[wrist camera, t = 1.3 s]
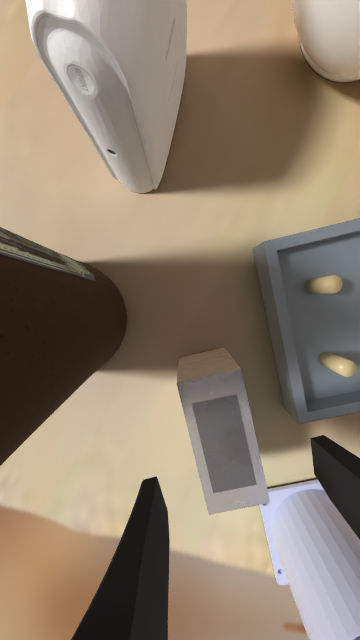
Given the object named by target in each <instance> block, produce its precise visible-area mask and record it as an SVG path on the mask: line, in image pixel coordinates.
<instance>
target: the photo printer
mask: <svg viewBox="0 0 360 640" xmlns="http://www.w3.org/2000/svg"><path fill="white" fill-rule="evenodd" d="M26 6H27V13H28V19H29V26H30V32H31V37H32V40H33V43H34V45H35V48H36V51H37V53H38V55H39V57H40V59H41V61H42V62H43V64H44V66H45V67H46V69H47V70H48V72H49V74H50V75H51V77H52V79H53V80H54V82H55V83H56V85H57V87H58V88H59V90H60V91H61V93H62V95H63V96H64V98H65V99H66V101H67V103H68V105H69V106H70V108H71V109H72V111H73V113H74V114H75V116H76V117H77V119H78V121H79V122H80V124H81V126H82V127H83V129H84V130H85V132H86V134H87V135H88V137H89V139H90V140H91V142H92V143H93V145H94V147H95V148H96V150H97V152H98V153H99V155H100V157H101V158H102V160H103V162H104V163H105V165H106V167H107V168H108V170H109V172H110V173H111V175H112V176H113V177H114V178H115V179H118V180H120V182H121V183H122V184H123V186H124V187H126V188H127V189H128V190H130V191H133V192H136V193H146V192H149V191H151V190H152V189H155V190H156V189H157V188H158V186H159V183H160V181H161V179H162V176H163V172H164V169H165V165H166V161H167V158H168V154H169V150H170V146H171V141H172V137H173V133H174V129H175V124H176V120H177V115H178V110H179V105H180V100H181V95H182V90H183V85H184V79H185V70H186V38H187V0H26Z"/></svg>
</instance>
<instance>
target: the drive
mask: <svg viewBox="0 0 360 640" xmlns="http://www.w3.org/2000/svg"><path fill="white" fill-rule="evenodd" d="M177 386H178V390H179V395H180V399H181V403H182V407H183V411H184V415H185V419H186V423H187V427H188V431H189V435H190V439H191V444H192V448H193V452H194V456H195V460H196V464H197V468H198V472H199V476H200V480H201V484H202V488H203V493H204V497H205V501H206V505H207V509H208V513H209V515H210V514H215V513H220V512H225V511H230V510H236V509H241V508H246V507H251V506H256V505H262V504H267V503H270V499H269V495H268V490H267V485H266V481H265V476H264V472H263V467H262V462H261V458H260V453H259V448H258V444H257V439H256V434H255V430H254V425H253V421H252V416H251V411H250V407H249V402H248V397H247V393H246V388H245V383H244V379H243V374H242V370H241V368H240V367H239V365H238V364H237V363H236V362H235V360H234V359H233V358H232V357H231V355H230V354H229V353H228V351H227V350H226V349H225V348H220V349H215V350H211V351H206V352H202V353H197V354H193V355H188V356H184V357H180V358H179V365H178V375H177Z"/></svg>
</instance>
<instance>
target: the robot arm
mask: <svg viewBox="0 0 360 640" xmlns="http://www.w3.org/2000/svg"><path fill="white" fill-rule="evenodd" d="M311 447H312V456H313V465H314V474H315V476H316V477H317V480H311V481H306V482H301V483H296V484H291V485H286V486H281V487H276V488H270V489H267V490H268V495H269V499H270V503H267V504H262V505H260V509H261V514H262V518H263V523H264V527H265V532H266V536H267V541H268V546H269V550H270V555H271V559H272V564H273V568H274V573H275V577H276V580H277V583H278V584H280V585H287V584H289V585H290V588H291V591H292V594H293V596H294V599H295V602H296V605H297V607H298V610H299V613H300V616H301V619H302V621H303V624H304V627H305V630H306V632H307V635H308V638H309V640H360V458H359V457H357V456H355V455H354V454H352V453H351V452H349V451H348V450H346V449H344V448H343V447H341V446H340V445H338V444H337V443H335V442H334V441H332V440H330V439H329V438H327V437H326V436H324V435H322V436H318V437H314V438H311ZM168 580H169V525H168V511H167V507H166V504H165V501H164V498H163V495H162V492H161V488H160V485H159V482H158V479H157V477H153V478H149V479H145V480H143V482H142V484H141V487H140V490H139V493H138V496H137V499H136V502H135V504H134V507H133V510H132V512H131V515H130V518H129V520H128V523H127V525H126V528H125V530H124V533H123V535H122V538H121V540H120V542H119V545H118V547H117V549H116V552H115V554H114V556H113V558H112V561H111V563H110V565H109V567H108V570H107V572H106V574H105V576H104V578H103V580H102V582H101V584H100V586H99V588H98V590H97V592H96V594H95V596H94V598H93V600H92V602H91V604H90V606H89V608H88V610H87V611H86V613H85V615H84V617H83V619H82V621H81V622H80V624H79V626H78V628H77V630H76V632H75V633H74V635H73V637H72V639H71V640H168V622H167V621H168Z"/></svg>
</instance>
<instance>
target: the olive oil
mask: <svg viewBox="0 0 360 640" xmlns="http://www.w3.org/2000/svg"><path fill="white" fill-rule="evenodd" d="M125 329H126V310H125V305H124V302H123V299H122V297H121V295H120V293H119V291H118V289H117V288H116V286H115V285H114V284H113V283H112V281H111V280H110V279H109V278H108V277H107V276H105V275H104V274H103V273H102V272H100V271H99V270H97V269H95V268H93V267H91V266H89V265H86V264H84V263H81V262H79V261H76V260H74V259H72V258H70V257H67V256H65V255H62V254H60V253H58V252H55V251H53V250H51V249H48V248H46V247H44V246H42V245H39V244H37V243H35V242H33V241H30V240H28V239H26V238H23V237H21V236H19V235H17V234H14V233H12V232H10V231H8V230H5V229H3V228H1V227H0V466H1V465H2V464H3V463H4V461H5V460H6V459H7V458H8V457H9V456H10V455H11V454H12V453H13V452H14V451H15V450H16V449H17V448H18V447H19V446H20V445H21V444H22V443H23V442H24V441H25V440H26V439H27V438H28V437H29V436H30V435H31V434H32V433H33V432H34V431H35V430H36V429H37V428H38V427H39V426H40V425H41V424H42V423H43V422H44V421H45V420H46V419H47V418H48V417H49V416H50V415H51V414H52V413H53V412H54V411H55V410H56V409H57V408H58V407H59V406H60V405H61V404H62V403H64V402H65V401H66V400H67V399H68V398H69V397H70V396H71V395H72V394H73V393H74V392H75V391H76V390H77V389H78V388H79V387H80V386H81V385H82V384H83V383H84V382H85V381H86V380H87V379H88V378H89V377H90V376H91V375H92V374H93V373H94V372H96V371H97V370H98V369H99V368H100V367H101V366H102V365H103V364H104V363H105V362H106V361H108V360H109V359H110V358H111V357H112V355H113V354H114V353H115V352H116V351H117V349H118V347H119V346H120V344H121V342H122V340H123V337H124V334H125Z"/></svg>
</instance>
